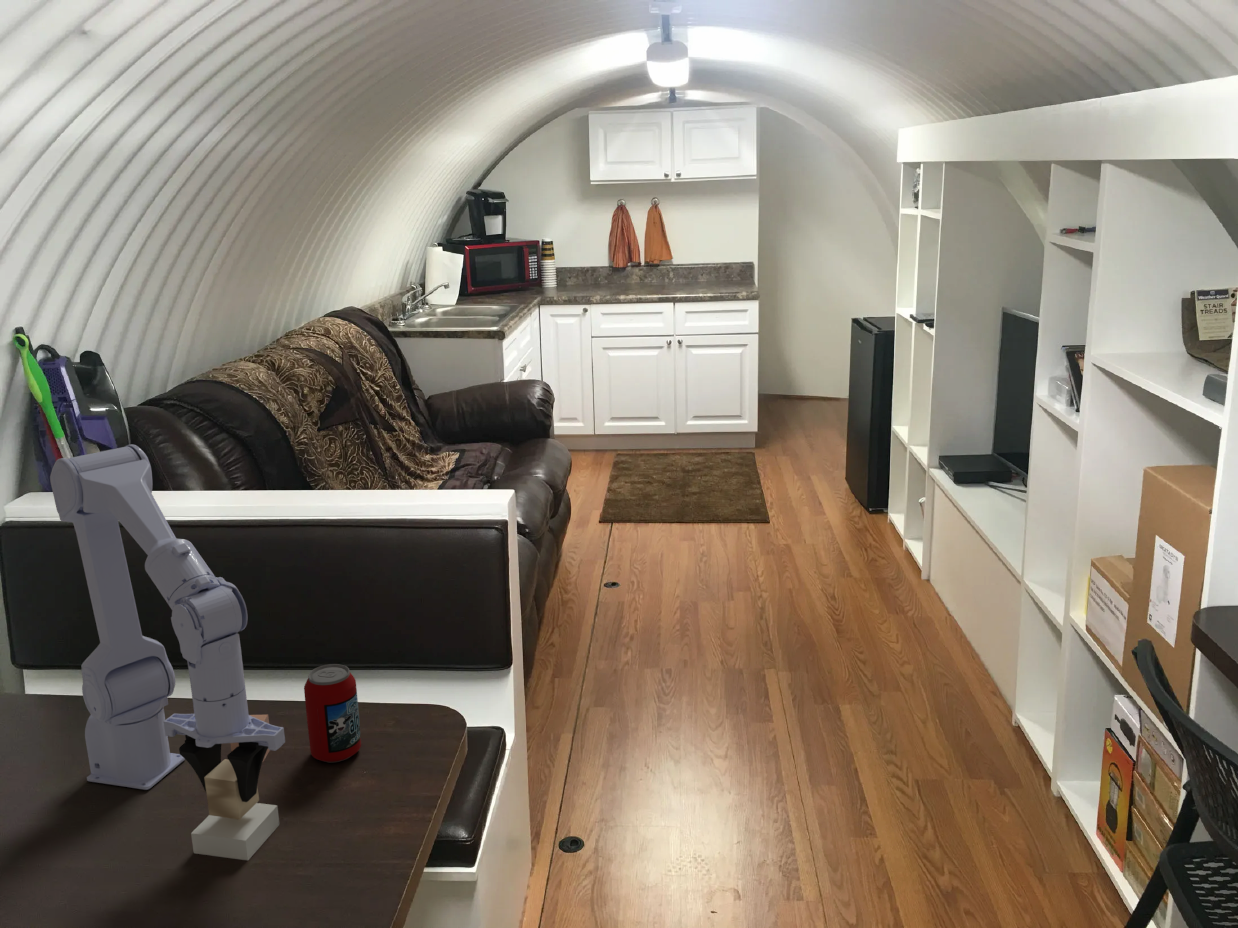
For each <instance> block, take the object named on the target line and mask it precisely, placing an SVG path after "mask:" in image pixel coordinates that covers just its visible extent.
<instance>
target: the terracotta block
mask: <svg viewBox="0 0 1238 928" xmlns="http://www.w3.org/2000/svg"><path fill="white" fill-rule="evenodd" d="M249 715H250V716H252V717H255V718H257V719H259V720H262V721H264V722H266V723H268V724H270V720H269V718H270V717H269V714H249ZM229 744H230V751H231V752H232V751H233V750H234V749H235V748H236V747H238V746H239V743H229ZM270 751H271V750H269V749H267V751H266V754H265V756H264V759H263V762H262V764H263V763H264V761H265V760H266V758H267V756H268V754H269V753H270ZM231 752H230V753H231Z"/></svg>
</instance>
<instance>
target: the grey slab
mask: <svg viewBox="0 0 1238 928" xmlns="http://www.w3.org/2000/svg"><path fill="white" fill-rule="evenodd" d="M278 807H279V806H278V805H276V804H269V803H267V804H266V803H260V802H259V803H258V802H257V803H256V804H255V805H254V806H253V807H252V808H251V809H250V810H249V811H248V812H247V813H246V814H245V815H244V816H243V817H242V818H241V819H240V820H238V819H232V818H225V817H219V816H212V815H209V814H208V816H207V817H206V818H205V819H204V820H203V821H202V822H200V823H199V824H198V826H196V828H195V829H193V831H192V832H191V833H190V836H191V842H192V843H191V844H192V850H193V851H192V852H193V854H196V855H198V854H199V855H204V856H206V855H207V856H212V857H217V858H218V857H220V858H226V859H227V858H228V859H234V860H240V861H241V860H242V861H249V860H250V859H251V858H252V856H254V854H255V853H256V852H257V851H258V850H259V849H260V848H261V846H262V845H264V843H265V842H266V841H267V839H269V837H271V835H272V834H273V833H274V831H276V830H277V828H278V827H279V826H280V818H279V808H278Z"/></svg>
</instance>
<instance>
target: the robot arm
mask: <svg viewBox="0 0 1238 928" xmlns="http://www.w3.org/2000/svg"><path fill="white" fill-rule="evenodd" d="M49 475H50V476H49V480H50V485H51V486H50V487H51V490H52V496H53V500H54V504H55V508H56V512H57V514H58V516H59V521H61V522H68V523H72V524H73V526H74V527H73V528H74V532H75V533H76V534H75V535H76V539H77V543H78V547H79V552H80V556H81V561H82V566H83V569H84V570H83V571H84V575H85V579H86V584H87V588H88V593H89V598H90V602H91V606H92V610H93V612H92V613H93V615H94V616H93V617H94V620H95V623H96V624H95V625H96V629H97V634H98V637H99V638H98V639H99V644H98V645H97V647H95V649H94V650H93V651H92V652H91V653H90V654H89V656H88V657H86V659H85V660H84V661H83V662H82V664H81V669H80V671H81V676H82V688H81V692H82V698H83V700H84V703H85V707H86V709H87V710H88V713H89V714H90V715H89V717H88V718H87V721H86V725H85V728H84V739H85V744H86V752H87V756H88V764H89V769H90V770H89V771H90V774H89V775H88V776H86V781H88V782H92V783H97V784H98V783H99V784H105V785H112V786H119V787H127V788H132V789H138V790H144V791H147V790H150V789H151V788H152V787H153V786H155V785H156V784H157V783H158V782H160V781H161V780H162V779H163V778H164V777H165V776H166V775H168V774H169V773H171V772H172V771H173V770H174V769H175V768H176V767H178V766H179V765H181V763H183V762H184V761H186V762H187V763H188V764H189V766H190V767H191V768H192V769H193V770H194V772H195V774H196V776H197V777H198V780H199V781H200V783H201V786H202V788H203V790H204V791H205V793H206V786H205V779H204V777H205V776H206V775H207V774H209V773H210V772H211V771H212V770H213V769H214V768H215V767H217V766H218V765H219V764H220V763H221V762H222V744H230V743H239V746H238V747H236V748H235V749H234V750H233V751H232V752H230V753H228V754H227V759H228V760H229V761H230V763H231V765H232V767H233V769H234V771H235V774H236V777H237V782H238V789H239V794H240V798H241V800H242V802H248V801H249V800H250V799H251V798H252V797H253V796H254V795H255V794H256V793H257V786H258V783H259V778H260V772H261V768H262V765H263V763H264V761H263V759H264V756H265V754H266V751H267V749H269V750H270V751H275V752H276V751H277V750H279V749H280V748H281V747H282V746H283V745H284V744H285V743H286V737H285V729H284V727H283V726H277V725H273V724H270V723H269V724H268V723H266V722H264V721H262V720H259V719H257V718H255V717H252V716H250V715H251V714H249V707H248V700H247V699H248V698H247V689H246V681H245V675H244V673H245V672H244V664H243V656H242V647H241V640H240V639H241V638H240V634H239V632H242V631H243V630H245V628H247V625H248V610H247V609H248V608H247V605H246V602H245V599H244V598H243V595H242V594H241V592H240V591H239V589H238V587H237V586H236V585H235V584H233V583H232V582H229V581H226V580H225V578H223V577H221V576H219V577H216V575H215V574H214V573H213V571H212V570H211V568H210V567H209V566H208V565H207V562H205V560H204V559H203V557H202V555H200V553H199V551H198V550H197V548H196V547H195V546H194V545H193V543H192V542H191V541H189V540H188V539H184V538H177V537H176V535H175V534H174V532H173V530H172V529H171V526H170V524H169V523H168V521H167V519H166V516H165V515H164V514H163V512H162V510H161V508H160V506H159V504H158V503H157V501H156V499H155V498H154V495H153V494H152V493H153V472H152V466H151V462H150V460H149V457H148V456H147V454H146V452H144V450H142V448H140V447H139V446H138V445H136V444H127V445H125V446H122V447H118V448H113V449H107V450H101V451H98V452H94V453H93V452H92V453H88V454H84V455H82V454H81V455H78V456H72V457H68V458H66V457H61V458H58V459H56V461H55V462H54V465H53V466H52V469H51V472H50V474H49ZM119 522H120V524H121V526H123V528H124V529H125V530H126V531H127V532H128V533H129V535H130V536H131V537H132V539H134V540H135V542H136V543H137V544H138V545H139V547H140V548H141V549H142V550H143V551H144V553H145V554H146V555H147V557H146V560H145V562H144V570H145V572H146V574H148V577H149V578H150V579H151V581H152V582H153V584H154V585H155V586H156V587H155V588H157V589H158V592H159V593H160V594H161V596H162V597H163V599H164V600H165V601H166V603H167V605H168V606H169V608H170V609H171V617H170V620H171V625H172V628H173V631H174V634H175V636H176V637H177V640H178V642H179V644H178V645H179V649H180V653H181V654H182V658H183V659H185V660H186V661H187V668H188V677H189V685H190V690H191V699H192V706H193V713H176V712H175V713H173V714H172V715H170V716H169V717H167V718H166V715H165V709H164V707H166V706H168V705H169V701H168V700H169V699H168V698H169V697H171V696H172V695H173V693H174V691H175V687H176V675H175V671H174V668H173V666H172V664H171V662H170V660H169V658H168V655H167V651H166V648H165V646H164V645H163V644H162V643H161V642H159V641H158V640H157V639H153V638H151V637H147V636H144V635H143V632H142V628H141V623H140V619H139V614H138V608H137V604H136V599H135V596H134V589H133V585H132V582H131V577H130V572H129V567H128V562H127V557H126V554H125V548H124V543H123V539H122V534H121V530H120V524H119ZM176 735H180V736H185V740H184V743H183V744H181V745H180V746H179V748H178V751H179V753H174V752H171V750H170V743H169V738H168V737H171V738H172V737H175V736H176ZM262 762H263V763H262Z"/></svg>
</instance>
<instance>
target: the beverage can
mask: <svg viewBox="0 0 1238 928" xmlns="http://www.w3.org/2000/svg"><path fill="white" fill-rule="evenodd" d="M307 676H308V677H307V679H306V682H305V683H304V687H303V692H304V702H305V711H306V712H305V713H306V723H307V732H308V740H309V749H310V754H311V756H312V757H313V759H316V760H319V761H321V762H325V763H331V764H332V763H339V762H342V761H346V760H348V759H349V758H351V757H352V756H354V755H355V754H357V753H358V752H359V751H360V749H361V747H362V737H361V725H360V713H359V701H358V690H357V680H356V678H355V676H354V675H353V674H352V673H351V672H350V668H349V667H348V666H347V665H343V664H338V663H330V664H324V665H320V666H318V667H315V668H314V669H312V670H311V671H310V672H309V673H308V675H307Z"/></svg>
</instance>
